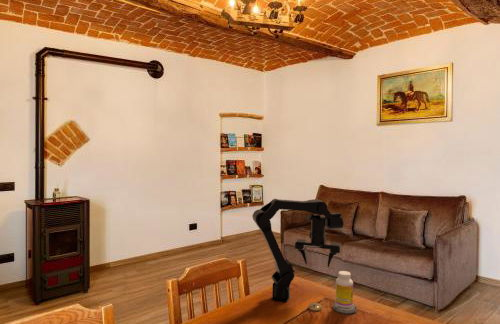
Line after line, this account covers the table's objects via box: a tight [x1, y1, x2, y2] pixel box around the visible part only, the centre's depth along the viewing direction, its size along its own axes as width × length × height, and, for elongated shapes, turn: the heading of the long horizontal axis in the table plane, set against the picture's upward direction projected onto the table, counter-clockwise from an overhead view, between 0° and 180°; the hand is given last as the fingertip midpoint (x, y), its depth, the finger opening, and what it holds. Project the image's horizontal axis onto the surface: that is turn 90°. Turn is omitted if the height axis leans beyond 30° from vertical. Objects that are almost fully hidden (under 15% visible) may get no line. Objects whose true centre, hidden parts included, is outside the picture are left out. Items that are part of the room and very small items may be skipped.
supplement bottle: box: [334, 270, 354, 308], centre depth 139 cm, size 7×7×13 cm
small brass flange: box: [308, 302, 323, 312], centre depth 139 cm, size 5×5×1 cm
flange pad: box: [332, 302, 357, 315], centre depth 139 cm, size 9×9×1 cm
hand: (317, 265), depth 150 cm, fingers open, 9 cm apart
